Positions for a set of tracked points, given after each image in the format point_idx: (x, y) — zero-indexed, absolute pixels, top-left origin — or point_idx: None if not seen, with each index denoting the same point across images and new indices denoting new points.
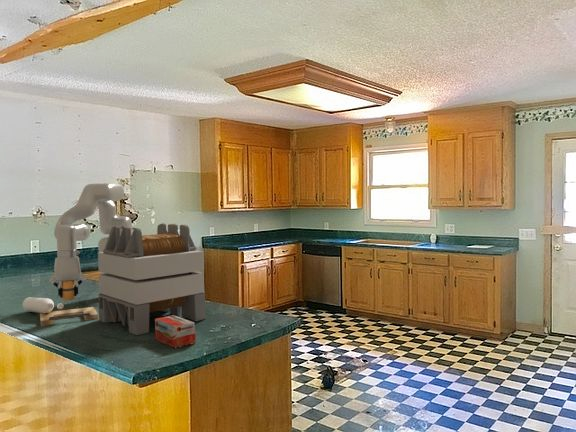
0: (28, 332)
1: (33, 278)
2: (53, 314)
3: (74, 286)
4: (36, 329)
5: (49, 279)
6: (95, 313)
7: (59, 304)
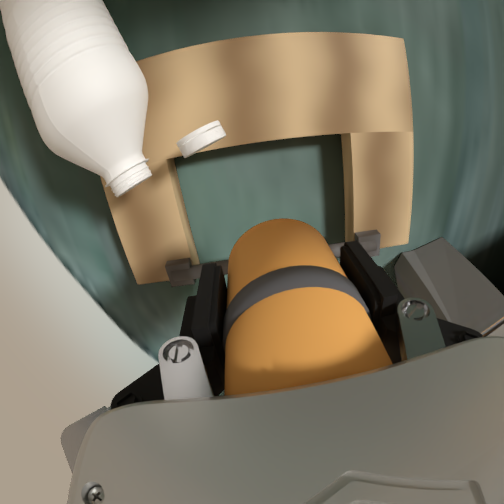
0: (131, 337)
1: None
2: (165, 146)
3: (381, 295)
4: (144, 312)
5: (70, 455)
6: (402, 222)
7: (193, 152)
